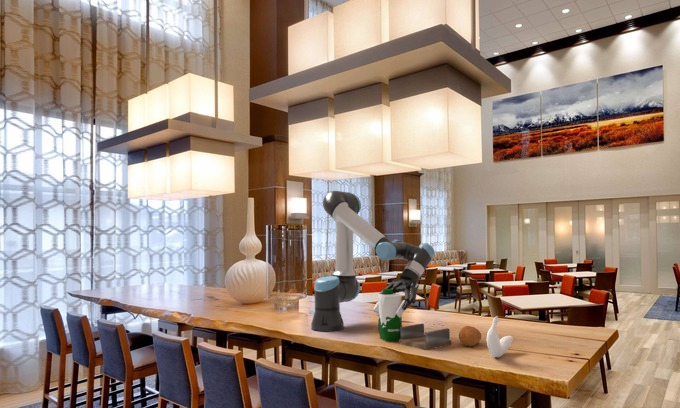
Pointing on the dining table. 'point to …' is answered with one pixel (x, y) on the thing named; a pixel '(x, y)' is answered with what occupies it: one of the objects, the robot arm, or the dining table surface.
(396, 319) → the soya milk
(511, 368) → the dining table surface
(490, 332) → the white bird figurine
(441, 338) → the grey square holder
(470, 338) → the potato
